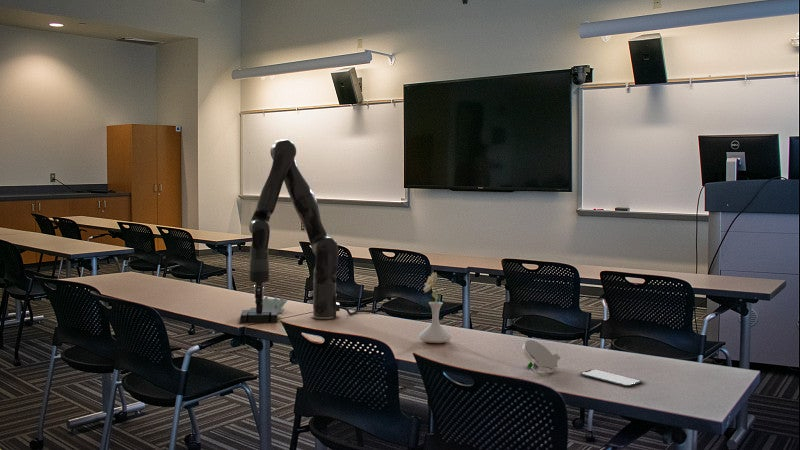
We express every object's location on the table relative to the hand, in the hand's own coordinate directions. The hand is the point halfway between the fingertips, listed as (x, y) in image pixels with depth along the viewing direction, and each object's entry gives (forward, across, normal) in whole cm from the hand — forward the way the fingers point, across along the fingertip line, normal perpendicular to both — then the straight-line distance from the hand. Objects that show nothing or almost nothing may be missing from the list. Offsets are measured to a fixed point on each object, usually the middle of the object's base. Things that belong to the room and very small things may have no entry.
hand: (259, 312), depth 282 cm
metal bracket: (+4, +24, -4) cm, 25 cm away
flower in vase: (+4, -43, -62) cm, 75 cm away
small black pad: (+4, 0, 0) cm, 4 cm away
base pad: (+4, +3, 0) cm, 5 cm away
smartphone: (+4, -94, -103) cm, 139 cm away
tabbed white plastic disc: (+4, -82, -86) cm, 119 cm away
